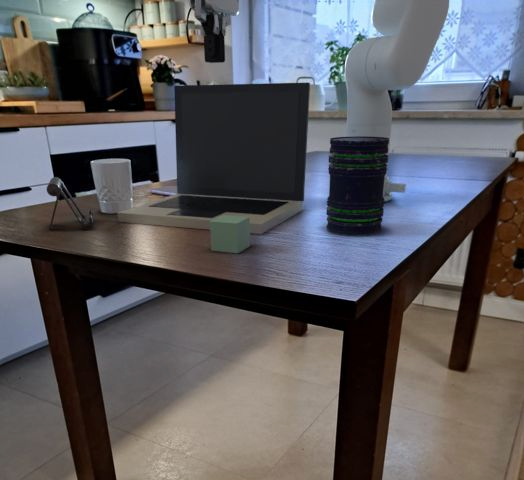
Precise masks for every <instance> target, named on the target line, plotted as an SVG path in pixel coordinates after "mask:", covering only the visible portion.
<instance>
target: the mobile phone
mask: <svg viewBox="0 0 524 480" xmlns="http://www.w3.org/2000/svg"><path fill="white" fill-rule="evenodd" d="M148 191H149V193H151V194H156V195H161V196H168V197H169V196H172V195H175V194H177V185H166V186H165V185H164V186H159V187H154V188H150V189H149V190H148ZM188 195H190V194H188Z"/></svg>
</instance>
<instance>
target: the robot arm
mask: <svg viewBox="0 0 524 480" xmlns="http://www.w3.org/2000/svg"><path fill="white" fill-rule="evenodd" d="M188 5H189V7H190V9H191V10H193V14H194V15H193V16H194V18H195V19H196V20H197V21H198V22H199V23H200V27H201V34H202V35H203V51H204V54H203V55H204V62H205V63H210V64H215V63H218V64H219V63H221V64H222V63H225V62H226V50H225V49H226V44H225V43H226V42H225V41H226V40H225V39H226V38H225V36H226V34H227V27H229V26H231V24H232V20H231V16H232V17H233V16H234V17H236V16H238V14H239V13H240V0H188ZM449 8H450V0H375V1H374V3H373V7H372V10H371V17H370V20H371V25H372V28H373V30H374V32H376V33H377V34H379V35H380V36H376V37H369V38H366V39H365V38H364V39H363V40H361V41H359V42H357V43H356V44H354V45H353V47H352V48H351V49H350V50H349V52H348V54H347V56H346V59H345V63H344V78H345V87H346V96H347V97H346V98H347V99H346V104H347V105H346V108H347V109H346V127H345V137H355V136H366V137H385V138H389V144H388V153H387V154H386V155H388V157H389V156H390V155H389V154H390V143H391V133H392V132H391V131H392V122H393V106H392V101H391V97H390V94H389V91H402V90H406V89H407V90H408V89H410V88H411V87H413V86H414V85H416V84H417V83H418V82H419V81H420V80H421V78H422V76H423V75H424V72H425V70H426V69H427V66H428V63H430V60H431V57H432V54H433V52H434V50H435V47H436V45H437V42H438V40H439V38H440V35H441V33H442V30H443V28H444V26H445V23H446V20H447V17H448V13H449V10H450V9H449ZM385 164H387V168H388V166H389V162H388V163H385ZM390 179H391V177H390V176H388V172H387V173H386V175H385V178H384V189H383V198H384V203H385V202H388V201H391V200H392V199H393V193H397V194H399V193H400V194H405V193H406V189H407V184H406V183H402V182H396V183H395V182H392V181H390Z"/></svg>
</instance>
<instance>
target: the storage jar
mask: <svg viewBox="0 0 524 480" xmlns="http://www.w3.org/2000/svg"><path fill="white" fill-rule="evenodd" d="M388 144H389V138H385V137H366V136H355V137H346V136H338V137H336V136H335V137H330V138H329V145H330V147H329V155H328V168H327V170H328V174H329V187H328V188H329V190H328V191H329V193H328V196H327V199H326V221H327V224H326V231H327V232H328V233H331V234H336V235H340V236H348V237H349V236H351V237H363V236H371V235H376V234H379V233H381V232H382V228H383V227H382V222H383V217H384V211H385V208H384V206H385V202H384V198H383V189H384V178H385V175H386V173H387V174H388V167H387V164H385V163H388V164H389V156H388V155H386V154H387V153H388Z"/></svg>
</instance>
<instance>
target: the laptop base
mask: <svg viewBox="0 0 524 480" xmlns="http://www.w3.org/2000/svg"><path fill="white" fill-rule="evenodd" d="M302 211H303V201H288V200H272V199H256V198H239V197H223V196H207V195H188V194H175V195H172V196H169V195H168V196H166V197H162V198H159V199H155V200H152V201H149V202H147V203H146V202H145V203H143V204H140V205H138V206H133V208H130V209H127V210H124V211H121V212H118V213H116V214H117V220H118V221H117V222H119V223H126V224H127V223H128V224H139V225H148V226H149V225H151V226H152V225H153V226H163V227H174V228H185V229H195V230H206V231H207V230H208V231H210V221H211V220H214V219H216V218H218V217H220V216H223V215H227V216H241V217H249V219H250V234H253V235H263V234H264V233H266V232H269V230H272V229H273V228H275V227H276V226H278V225H280V224H281V223H284V222H285V221H286V220H288V219H290V218H291V217H293V216H295V215H296V214H298V213H300V212H302Z"/></svg>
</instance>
